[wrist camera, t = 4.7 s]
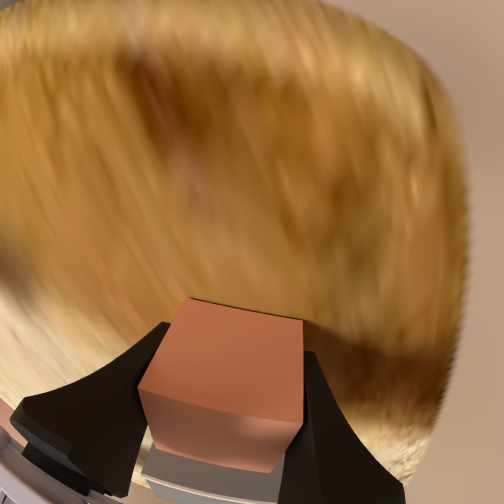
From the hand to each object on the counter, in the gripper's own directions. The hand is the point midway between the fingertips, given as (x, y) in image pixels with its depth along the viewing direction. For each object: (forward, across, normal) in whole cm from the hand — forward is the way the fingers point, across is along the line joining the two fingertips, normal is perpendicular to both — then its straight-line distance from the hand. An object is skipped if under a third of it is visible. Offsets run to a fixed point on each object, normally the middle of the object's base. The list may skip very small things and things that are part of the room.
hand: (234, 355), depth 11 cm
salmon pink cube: (+1, 0, +1) cm, 2 cm away
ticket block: (+1, 0, +14) cm, 14 cm away
